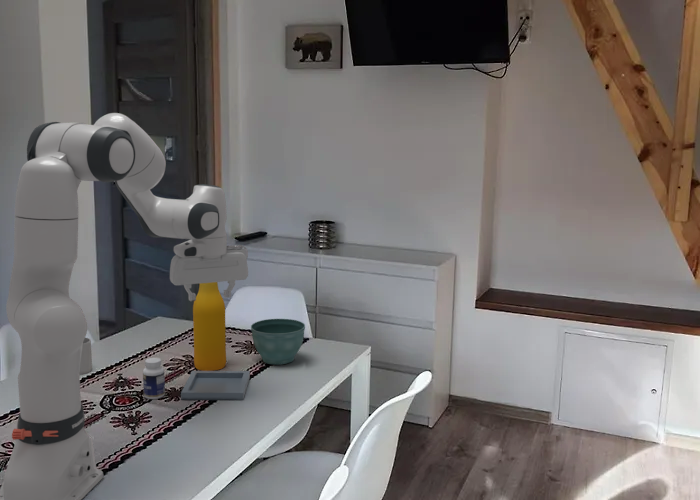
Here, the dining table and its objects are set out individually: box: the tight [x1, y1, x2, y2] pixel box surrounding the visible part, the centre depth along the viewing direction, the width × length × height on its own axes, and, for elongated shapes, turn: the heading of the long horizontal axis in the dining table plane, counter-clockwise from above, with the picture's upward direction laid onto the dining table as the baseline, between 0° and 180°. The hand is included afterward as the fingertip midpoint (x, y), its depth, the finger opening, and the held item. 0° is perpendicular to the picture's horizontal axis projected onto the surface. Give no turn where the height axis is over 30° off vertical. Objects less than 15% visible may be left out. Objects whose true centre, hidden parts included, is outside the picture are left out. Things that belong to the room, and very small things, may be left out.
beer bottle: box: [192, 282, 227, 371], centre depth 206 cm, size 9×9×29 cm
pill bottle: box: [142, 357, 166, 400], centre depth 185 cm, size 5×5×10 cm
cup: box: [79, 337, 93, 376], centre depth 202 cm, size 7×10×9 cm
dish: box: [180, 370, 251, 401], centre depth 192 cm, size 16×16×2 cm
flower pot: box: [250, 318, 306, 366], centre depth 214 cm, size 16×16×11 cm
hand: (210, 298), depth 186 cm, fingers open, 8 cm apart
